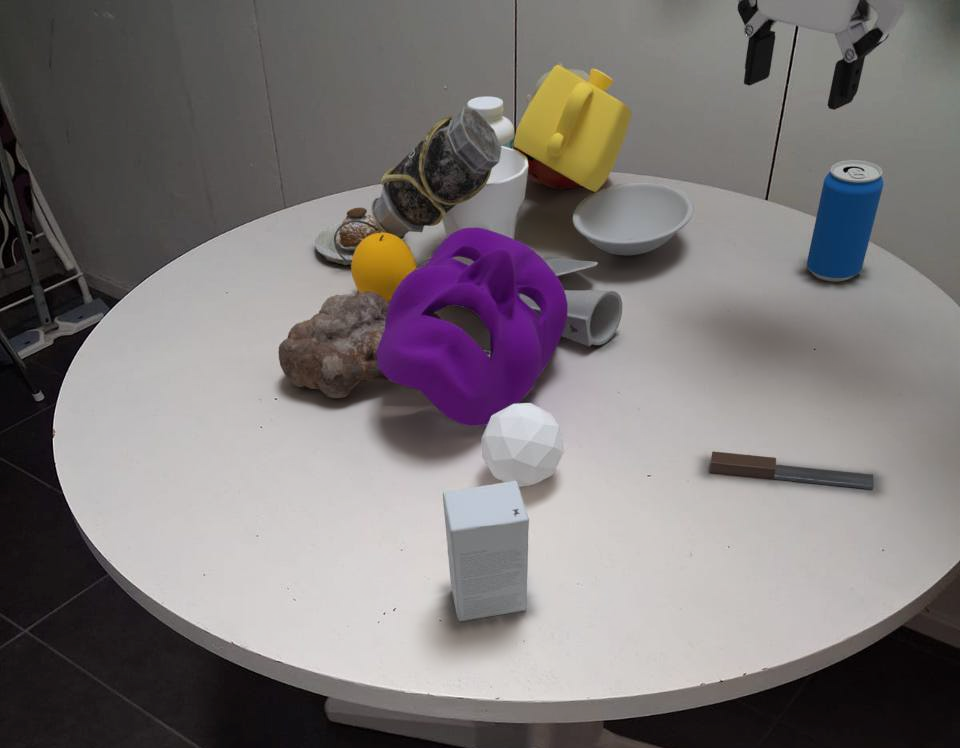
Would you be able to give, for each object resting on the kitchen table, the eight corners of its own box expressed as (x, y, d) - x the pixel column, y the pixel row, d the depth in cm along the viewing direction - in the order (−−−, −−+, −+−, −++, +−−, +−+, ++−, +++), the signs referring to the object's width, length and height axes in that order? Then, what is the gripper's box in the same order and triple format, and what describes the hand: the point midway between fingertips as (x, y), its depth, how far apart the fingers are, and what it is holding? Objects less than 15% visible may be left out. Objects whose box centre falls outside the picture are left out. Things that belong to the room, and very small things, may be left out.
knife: (872, 477, 89) (875, 467, 88) (872, 489, 88) (876, 479, 87) (710, 461, 92) (712, 451, 91) (709, 472, 91) (710, 462, 90)
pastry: (401, 266, 122) (397, 230, 119) (309, 269, 123) (303, 234, 119) (408, 224, 130) (404, 190, 127) (322, 228, 131) (316, 194, 127)
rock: (429, 363, 113) (422, 275, 108) (458, 388, 104) (453, 292, 99) (277, 383, 109) (263, 292, 104) (293, 412, 99) (278, 313, 94)
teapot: (529, 151, 130) (571, 62, 125) (607, 196, 130) (652, 109, 125) (499, 138, 113) (547, 33, 107) (589, 191, 113) (641, 88, 107)
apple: (355, 282, 120) (345, 223, 114) (417, 276, 120) (410, 217, 115) (356, 314, 115) (346, 254, 109) (420, 308, 115) (414, 247, 109)
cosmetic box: (516, 572, 82) (519, 478, 72) (527, 612, 80) (531, 520, 70) (448, 583, 82) (441, 489, 72) (456, 623, 80) (450, 532, 70)
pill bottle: (498, 223, 129) (494, 116, 119) (452, 213, 132) (445, 108, 122) (525, 201, 133) (523, 96, 123) (480, 192, 136) (475, 89, 126)
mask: (476, 473, 96) (576, 324, 107) (525, 383, 82) (633, 224, 94) (335, 382, 95) (451, 242, 106) (361, 276, 82) (490, 130, 93)
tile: (603, 261, 114) (603, 265, 114) (550, 258, 122) (550, 261, 122) (464, 297, 105) (465, 301, 106) (417, 290, 114) (418, 294, 114)
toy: (522, 85, 138) (518, 197, 142) (502, 52, 124) (499, 177, 128) (625, 81, 135) (618, 196, 139) (617, 47, 121) (610, 175, 125)
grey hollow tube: (503, 292, 119) (625, 326, 109) (469, 318, 117) (590, 356, 106) (494, 249, 115) (620, 280, 104) (458, 275, 113) (583, 310, 102)
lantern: (458, 85, 105) (323, 217, 121) (449, 126, 101) (310, 257, 117) (511, 143, 110) (374, 263, 126) (504, 184, 106) (364, 302, 122)
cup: (444, 229, 129) (437, 143, 120) (535, 231, 127) (534, 144, 119) (426, 274, 120) (417, 185, 112) (523, 276, 119) (521, 186, 110)
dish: (656, 292, 114) (659, 252, 111) (549, 269, 120) (549, 230, 116) (708, 231, 124) (713, 192, 121) (608, 212, 129) (609, 174, 126)
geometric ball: (578, 405, 85) (562, 492, 86) (560, 416, 93) (545, 497, 94) (497, 387, 84) (480, 476, 85) (485, 400, 92) (470, 482, 93)
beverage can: (850, 257, 118) (875, 156, 109) (867, 282, 114) (894, 179, 105) (799, 261, 118) (819, 161, 109) (814, 286, 114) (836, 184, 105)
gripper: (959, -132, 75) (899, 103, 88) (780, -152, 84) (749, 63, 97) (904, -114, 72) (850, 127, 85) (725, -138, 81) (701, 83, 94)
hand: (796, 93), depth 91 cm, fingers open, 9 cm apart
